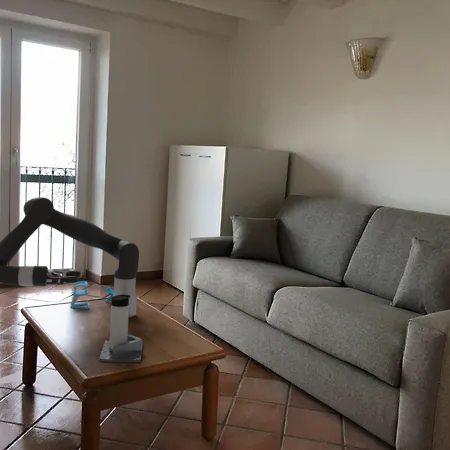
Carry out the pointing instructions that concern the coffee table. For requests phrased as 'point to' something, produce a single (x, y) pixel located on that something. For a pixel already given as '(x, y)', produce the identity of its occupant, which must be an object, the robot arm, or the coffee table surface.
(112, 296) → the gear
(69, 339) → the coffee table surface
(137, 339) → the v block
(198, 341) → the coffee table surface
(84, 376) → the coffee table surface
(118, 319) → the travel mug
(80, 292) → the chair
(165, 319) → the coffee table surface
